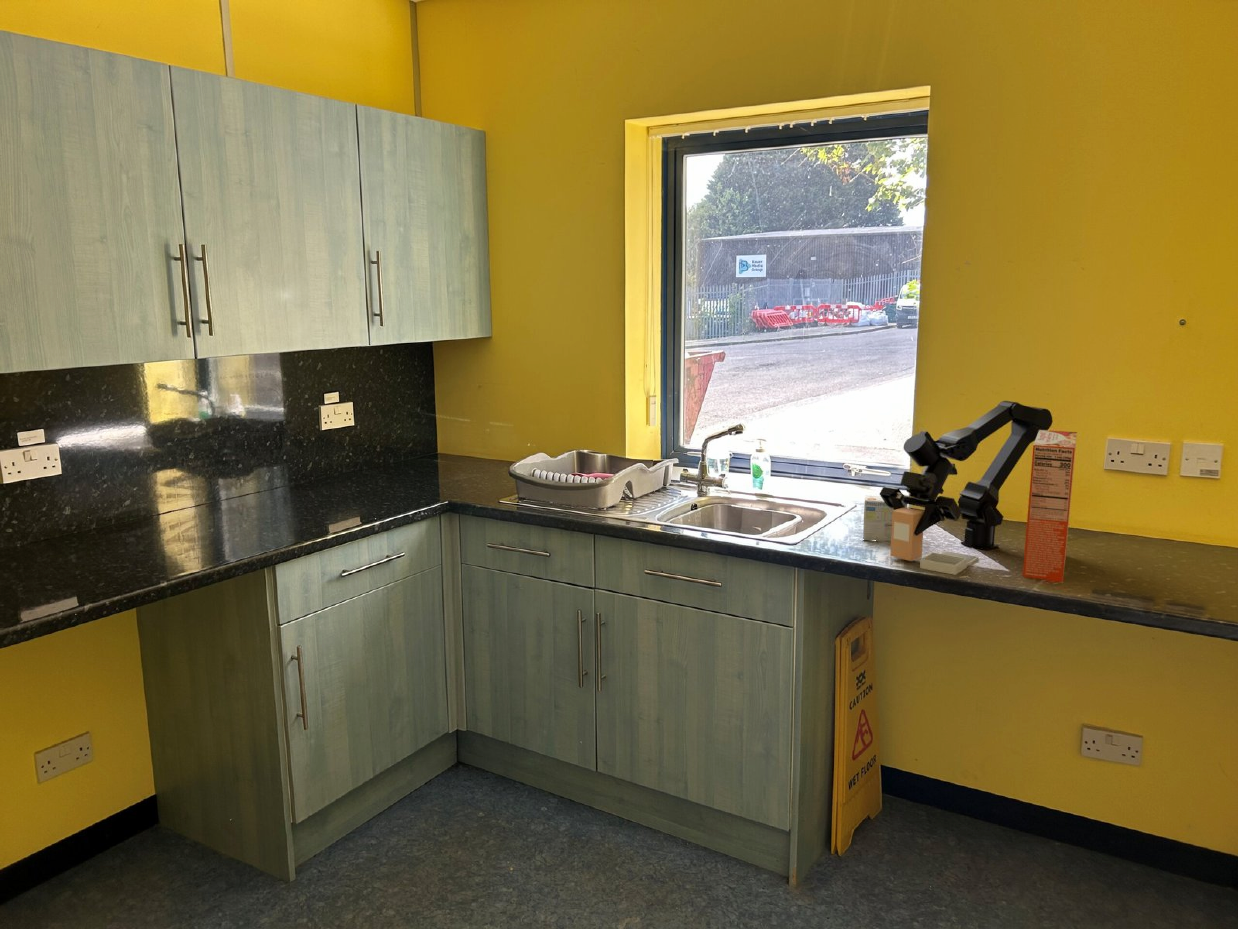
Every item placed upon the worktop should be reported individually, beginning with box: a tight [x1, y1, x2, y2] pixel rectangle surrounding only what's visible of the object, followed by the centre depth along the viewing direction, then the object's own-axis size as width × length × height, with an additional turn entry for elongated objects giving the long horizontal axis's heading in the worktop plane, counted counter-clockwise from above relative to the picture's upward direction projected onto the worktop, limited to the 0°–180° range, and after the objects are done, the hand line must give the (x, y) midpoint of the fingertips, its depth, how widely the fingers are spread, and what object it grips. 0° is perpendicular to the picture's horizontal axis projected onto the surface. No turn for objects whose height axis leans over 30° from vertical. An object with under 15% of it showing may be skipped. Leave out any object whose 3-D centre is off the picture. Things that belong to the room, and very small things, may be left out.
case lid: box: [939, 550, 980, 567], centre depth 218 cm, size 8×8×1 cm
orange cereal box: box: [1022, 429, 1078, 583], centre depth 211 cm, size 23×8×30 cm, turn 153°
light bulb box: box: [862, 495, 908, 542], centre depth 236 cm, size 11×7×11 cm, turn 74°
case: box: [919, 551, 968, 576], centre depth 212 cm, size 7×8×2 cm
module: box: [890, 507, 924, 562], centre depth 216 cm, size 5×6×11 cm
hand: (904, 532), depth 215 cm, fingers closed on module, 5 cm apart
